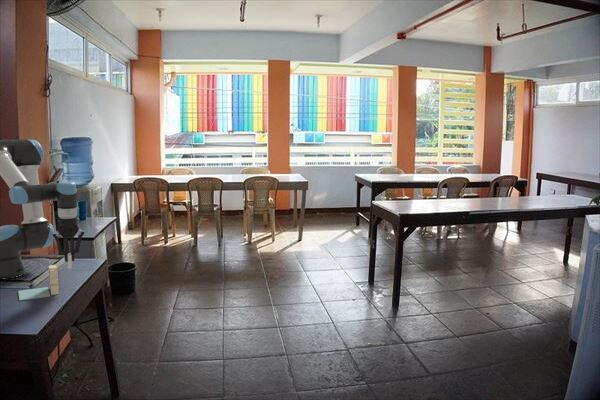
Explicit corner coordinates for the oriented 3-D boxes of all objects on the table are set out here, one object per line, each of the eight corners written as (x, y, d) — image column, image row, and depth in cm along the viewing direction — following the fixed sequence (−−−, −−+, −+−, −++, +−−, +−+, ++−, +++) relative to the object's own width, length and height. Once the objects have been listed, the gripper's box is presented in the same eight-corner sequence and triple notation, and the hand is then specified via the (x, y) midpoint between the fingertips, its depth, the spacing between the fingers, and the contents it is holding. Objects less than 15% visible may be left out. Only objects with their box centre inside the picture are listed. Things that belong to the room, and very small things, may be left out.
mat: (18, 291, 207) (18, 290, 207) (47, 287, 213) (47, 286, 213) (19, 300, 198) (19, 299, 198) (50, 296, 204) (50, 295, 204)
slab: (49, 288, 212) (48, 265, 210) (57, 287, 214) (56, 264, 212) (51, 295, 206) (50, 271, 204) (59, 293, 207) (58, 270, 205)
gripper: (52, 219, 200) (54, 272, 205) (85, 217, 208) (86, 268, 212) (50, 216, 207) (52, 267, 211) (82, 214, 214) (84, 263, 218)
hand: (69, 268), depth 211 cm, fingers closed
